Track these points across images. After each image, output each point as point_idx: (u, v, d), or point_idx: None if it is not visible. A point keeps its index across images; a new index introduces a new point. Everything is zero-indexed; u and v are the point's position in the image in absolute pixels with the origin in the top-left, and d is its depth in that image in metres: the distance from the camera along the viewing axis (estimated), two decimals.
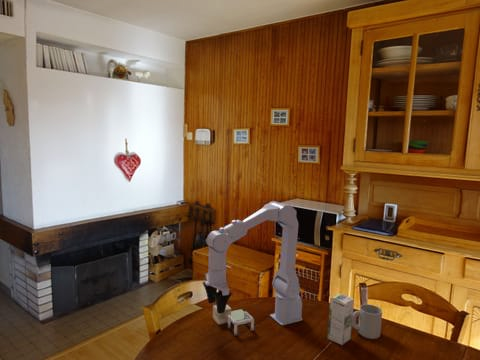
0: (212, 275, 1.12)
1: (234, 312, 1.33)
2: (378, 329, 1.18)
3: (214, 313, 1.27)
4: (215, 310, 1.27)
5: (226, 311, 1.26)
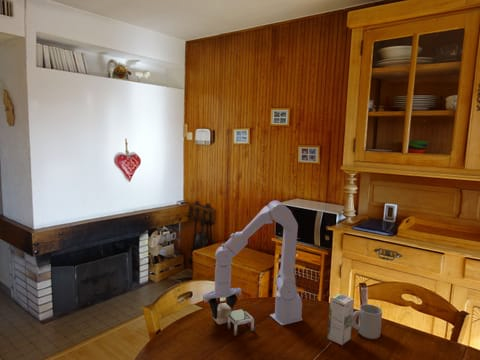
0: None
1: (234, 312, 1.33)
2: (378, 329, 1.18)
3: None
4: None
5: (226, 311, 1.26)
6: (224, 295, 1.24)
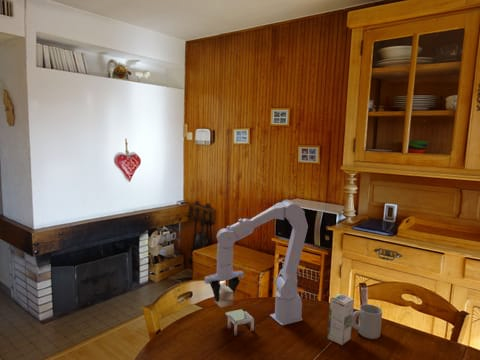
0: None
1: (234, 312, 1.33)
2: (378, 329, 1.18)
3: None
4: None
5: (228, 293, 1.24)
6: (226, 277, 1.22)
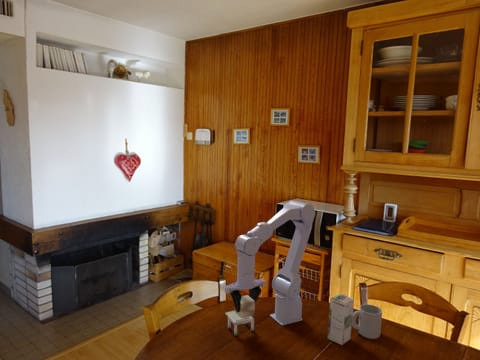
0: None
1: (234, 312, 1.33)
2: (378, 329, 1.18)
3: None
4: None
5: (249, 304, 1.17)
6: (248, 287, 1.15)
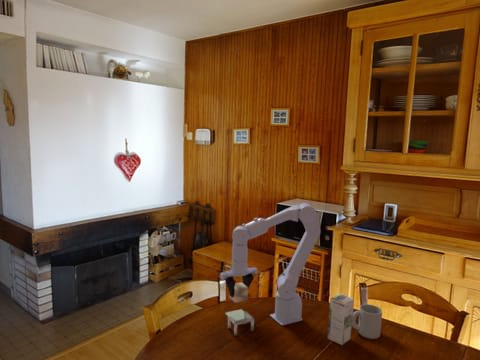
0: None
1: (234, 312, 1.33)
2: (378, 329, 1.18)
3: None
4: None
5: (243, 289, 1.28)
6: (241, 273, 1.26)
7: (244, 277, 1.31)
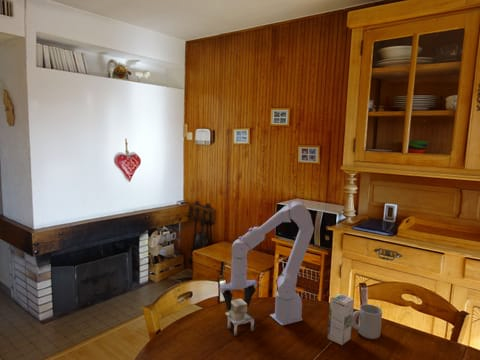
0: None
1: None
2: (378, 329, 1.18)
3: None
4: (231, 305, 1.30)
5: (242, 306, 1.28)
6: (240, 287, 1.27)
7: (246, 289, 1.32)
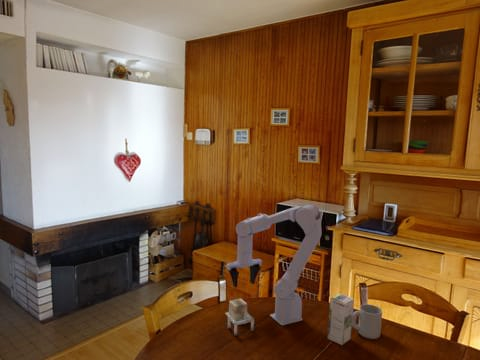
0: None
1: None
2: (378, 329, 1.18)
3: (230, 308, 1.30)
4: (231, 305, 1.30)
5: (242, 306, 1.28)
6: (246, 264, 1.33)
7: (251, 268, 1.38)
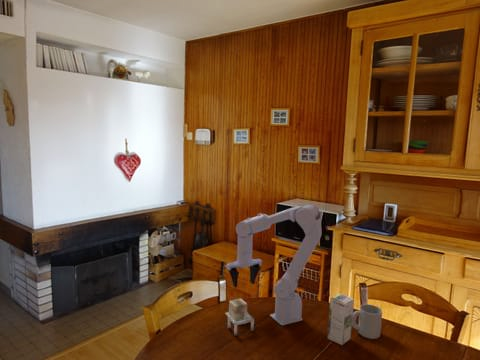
0: None
1: None
2: (378, 329, 1.18)
3: (230, 308, 1.30)
4: (231, 305, 1.30)
5: (242, 306, 1.28)
6: (246, 264, 1.33)
7: (251, 268, 1.38)
